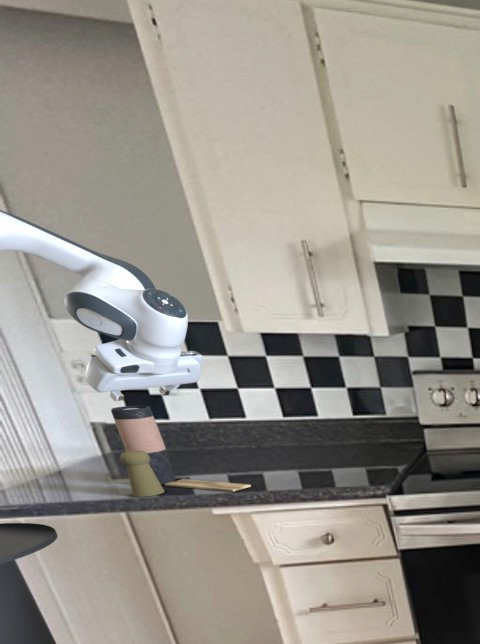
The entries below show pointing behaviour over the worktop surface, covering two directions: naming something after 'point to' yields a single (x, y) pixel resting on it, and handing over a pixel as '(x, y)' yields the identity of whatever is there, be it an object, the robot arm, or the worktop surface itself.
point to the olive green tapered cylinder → (141, 474)
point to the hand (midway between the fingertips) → (141, 395)
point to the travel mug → (144, 438)
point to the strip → (208, 485)
